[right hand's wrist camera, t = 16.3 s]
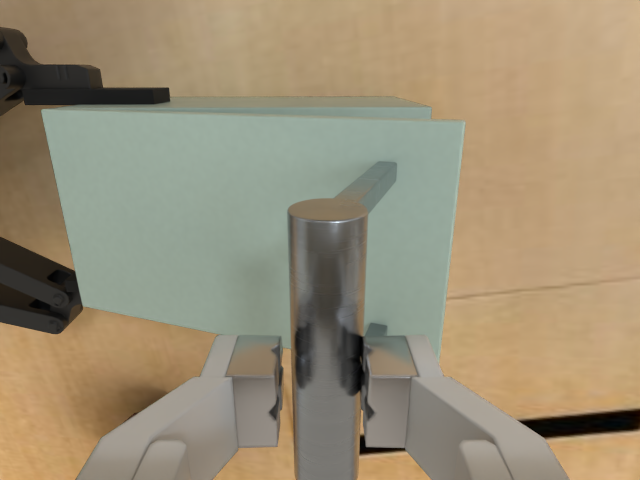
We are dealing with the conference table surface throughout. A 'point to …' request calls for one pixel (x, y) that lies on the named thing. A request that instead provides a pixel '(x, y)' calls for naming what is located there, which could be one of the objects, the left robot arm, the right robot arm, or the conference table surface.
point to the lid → (267, 238)
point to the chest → (286, 106)
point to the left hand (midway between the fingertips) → (173, 192)
